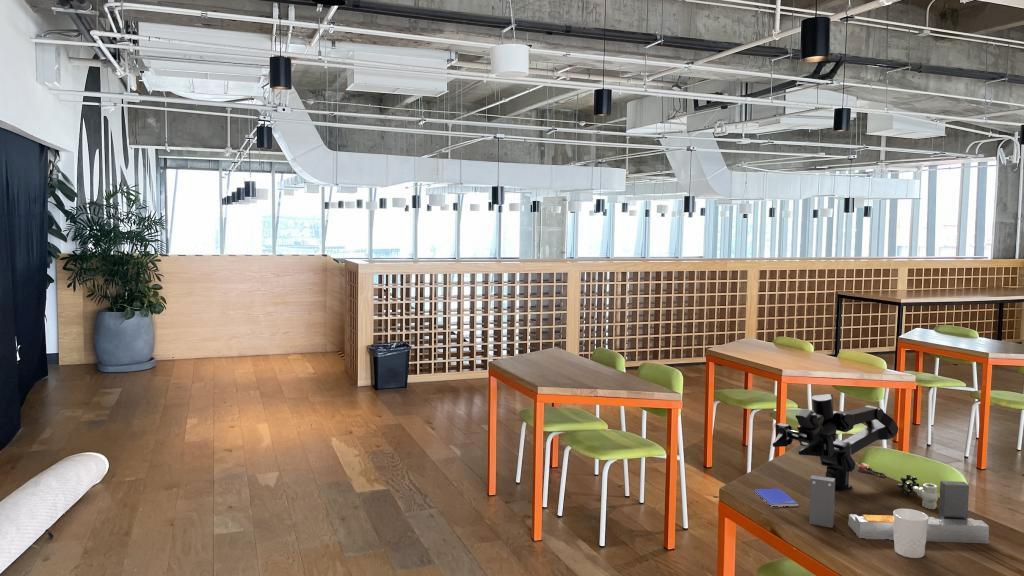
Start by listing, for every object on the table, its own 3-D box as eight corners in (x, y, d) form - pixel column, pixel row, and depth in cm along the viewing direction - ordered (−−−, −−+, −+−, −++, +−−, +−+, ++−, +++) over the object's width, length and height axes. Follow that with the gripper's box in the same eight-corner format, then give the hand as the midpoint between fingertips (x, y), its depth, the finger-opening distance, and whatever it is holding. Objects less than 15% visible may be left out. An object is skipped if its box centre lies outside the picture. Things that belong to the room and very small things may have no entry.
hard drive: (798, 502, 226) (779, 488, 239) (771, 503, 225) (754, 489, 238) (798, 507, 226) (779, 493, 239) (771, 508, 226) (754, 494, 238)
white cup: (885, 546, 198) (886, 509, 197) (914, 545, 199) (916, 507, 198) (903, 560, 190) (904, 521, 189) (933, 558, 191) (935, 519, 190)
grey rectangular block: (810, 520, 216) (812, 475, 215) (833, 524, 213) (835, 478, 212) (808, 524, 213) (810, 478, 212) (832, 528, 210) (833, 482, 209)
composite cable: (887, 478, 251) (887, 470, 250) (875, 479, 249) (876, 472, 249) (865, 468, 260) (865, 461, 260) (853, 470, 259) (853, 463, 258)
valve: (944, 509, 223) (916, 494, 235) (945, 487, 223) (917, 473, 234) (923, 510, 222) (897, 495, 234) (924, 488, 222) (897, 474, 233)
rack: (848, 524, 212) (849, 476, 211) (970, 528, 209) (973, 480, 208) (859, 538, 203) (861, 488, 202) (988, 543, 199) (990, 492, 198)
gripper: (790, 400, 241) (757, 416, 233) (844, 413, 226) (810, 430, 218) (793, 433, 243) (761, 450, 235) (847, 448, 228) (814, 467, 220)
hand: (785, 449), depth 227 cm, fingers open, 9 cm apart
